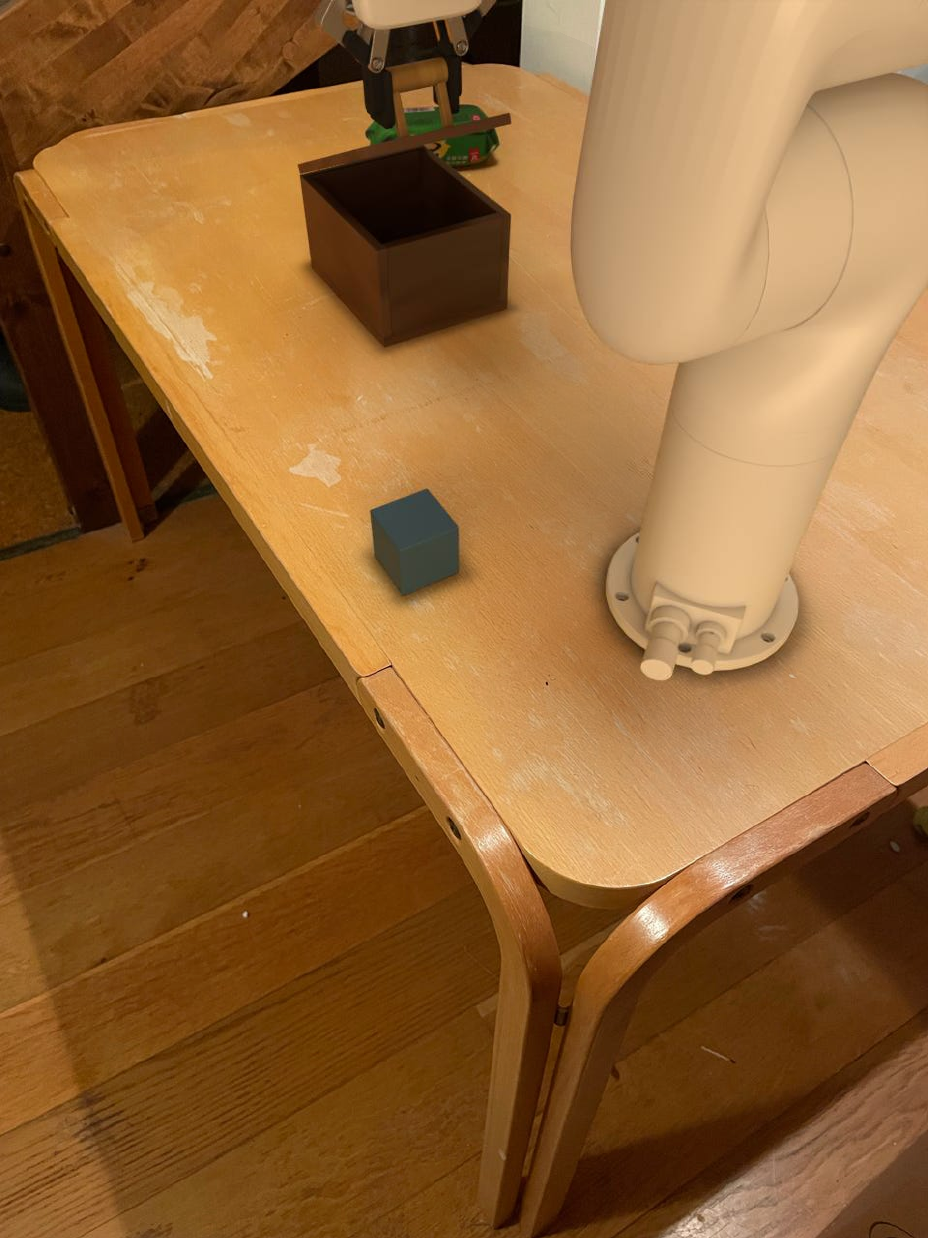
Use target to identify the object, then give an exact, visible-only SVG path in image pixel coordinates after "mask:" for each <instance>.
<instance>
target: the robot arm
mask: <svg viewBox="0 0 928 1238" xmlns="http://www.w3.org/2000/svg"><path fill="white" fill-rule="evenodd" d="M497 1H498V0H321V2H320V4H319V6H318V8H317V11H316V13H315V15H314V18H313V22H314V25H315V26H316V27H317V28H318V29H319V30H321V31H322V32H323V33H325V34H326V35H327V36H328V37H330V38H331V39H333V40H334V41H335V42H336V43H338V44H339V45H340V46H341V47H342V48H343V49H344V50H345V51H346V52H347V53H348V54H350V55H351V56H352V58H353V59H355V61H357V63H359V64H360V66H361V76H362V88H363V99H364V107H365V111H366V112H367V114H368V115H369V117H370V119H371V120H373V122H374V121H375V122H377V123H378V124H379V125H381V126H382V127H383V128H385V129H391V128H393V126H394V125H395V116H394V100H393V83H392V74H391V72H390V71H388V70H387V69H385V68H386V58H387V51H388V44H389V38H390V33H391V30H392V29H400V28H404V27H409V26H415V25H420V24H421V25H422V24H426V23H432V24H433V27H434V31H435V35H436V39H437V45H436V46H433V47H432V51H431V59H432V58H437V57H443V58H444V59H445V61H446V63H447V67H448V80H447V82H446V88H447V93H448V98H449V104H450V109H451V114H456V113H459V110H460V104H461V103H460V97H462V94H463V58H462V57H463V56H465V55H466V54H467V52H468V50H469V42H470V41H471V39H472V37H474V34H475V33H476V31H477V30H478V29H479V27H480V25H481V23H482V19H483V17H485V16H486V15H487V14H488V12H489V11H490V10H491V8H492V7H493V6H494V4H496V2H497ZM344 13H346V14H348V15H351V16H356V17H357V19H358V22H357V30H356V32H355V31H354V30H353V29H352V28H350V27H349V26H348V25H346V24H345V22H344V18H343V16H344ZM597 43H598V44H597V49H596V54H595V61H594V67H593V72H592V73H593V74H592V79H591V86H590V91H589V97H588V104H587V110H586V116H585V123H584V128H583V133H582V134H583V135H582V140H581V144H580V145H581V146H580V153H579V158H578V159H579V160H578V164H577V172H576V178H575V185H574V192H573V198H572V199H573V200H572V206H571V207H572V208H571V218H570V263H571V270H572V279H573V282H574V283H573V284H574V287H575V293H576V296H577V299H578V303H579V305H580V308H581V311H582V313H583V315H584V317H585V319H586V321H587V323H588V325H589V327H590V328H591V330H592V331H593V333H594V334H595V335H596V337H597V338H598V339H599V340H600V342H602V343H603V344H604V345H605V346H606V347H607V348H608V349H610V351H612V352H613V353H615V354H616V355H619V356H620V357H623V358H624V359H628V360H630V361H632V362H635V363H640V364H644V365H652V366H654V365H655V366H662V365H664V366H665V365H675V364H677V366H676V370H675V374H674V378H673V383H672V387H671V391H670V396H669V400H668V405H667V409H666V414H665V418H664V424H663V426H662V431H661V436H660V440H659V445H658V450H657V455H656V459H655V463H654V468H653V471H652V472H653V473H652V478H651V482H650V487H649V490H648V494H647V495H648V496H647V500H646V505H645V508H644V513H643V518H642V522H641V527H640V530H639V531H638V532H636V533H635V534H633V535H631V536H629V538H628V539H626V540H625V541H624V542H623V543H622V544H621V545H620V546H619V547H618V548H617V550H616V551H615V553H614V554H613V556H612V558H611V560H610V562H609V565H608V568H607V572H606V573H607V574H606V579H605V598H606V601H607V605H608V608H609V611H610V612H611V614H612V616H613V618H614V619H615V622H616V624H617V625H618V626H619V627H620V628H621V630H622V631H623V632H624V633H625V635H626V636H627V637H628V638H630V639H631V640H632V641H633V642H634V643H636V644H637V645H638V646H639V647H640V648H642V649H643V650H644V654H643V656H642V660H641V664H640V666H639V668H640V670H641V673H642V674H643V675H644V676H646V677H647V678H649V679H652V680H655V681H665V680H668V679H670V678H671V676H673V673H674V671H675V670H674V669H675V666H676V665H677V666H681V667H686V668H688V669H692V671H693V672H695V673H697V674H698V675H703V676H706V675H710V674H712V673H713V672H714V671H715V672H717V671H732V670H733V671H734V670H737V669H743V668H747V667H750V666H753V665H755V664H758V663H760V662H762V661H764V660H766V659H768V658H769V657H770V656H772V655H773V654H774V653H776V652H777V651H779V649H780V648H781V647H782V646H783V645H784V644H785V643H786V642H787V640H788V638H789V636H790V634H791V633H792V631H793V628H794V626H795V624H796V621H797V618H798V615H799V601H800V600H799V595H798V590H797V586H796V584H795V582H794V579H793V577H792V575H791V573H790V570H791V568H792V566H793V563H794V561H795V559H796V556H797V554H798V551H799V549H800V547H801V545H802V542H803V540H804V538H805V535H806V532H807V530H808V528H809V526H810V523H811V521H812V519H813V516H814V513H815V511H816V509H817V507H818V504H819V502H820V500H821V497H822V495H823V492H824V490H825V488H826V485H827V482H828V480H829V478H830V475H831V473H832V471H833V468H834V466H835V464H836V462H837V459H838V457H839V455H840V452H841V449H842V448H843V445H844V443H845V441H846V439H847V438H848V435H849V433H850V432H851V428H852V427H853V423H854V421H855V418H856V417H857V415H858V412H859V409H860V407H861V405H862V403H863V400H864V398H865V395H866V393H867V392H868V389H869V387H870V385H871V383H872V380H873V379H874V377H875V375H876V373H877V371H878V368H879V366H880V365H881V363H882V362H883V359H884V357H885V356H886V354H887V352H888V350H889V348H890V346H891V345H892V343H893V341H894V340H895V339H896V337H897V335H898V333H899V332H900V330H901V328H902V327H903V325H904V324H905V322H906V321H907V319H908V318H909V316H910V314H912V311H913V310H914V308H915V307H916V306H917V304H918V302H919V301H920V300H921V298H922V296H923V295H924V293H925V292H926V290H927V288H928V84H927V83H925V82H923V81H922V80H920V79H917V78H915V77H911V76H909V75H906V74H902V73H899V72H900V71H904V70H910V69H912V68H917V67H920V66H924V65H928V0H605V1H604V5H603V13H602V18H601V25H600V30H599V38H598V42H597ZM897 72H898V73H897ZM432 99H433V103H434V104H435V105H437V106H438V101H437V96H436V91H435V86H432Z"/></svg>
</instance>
